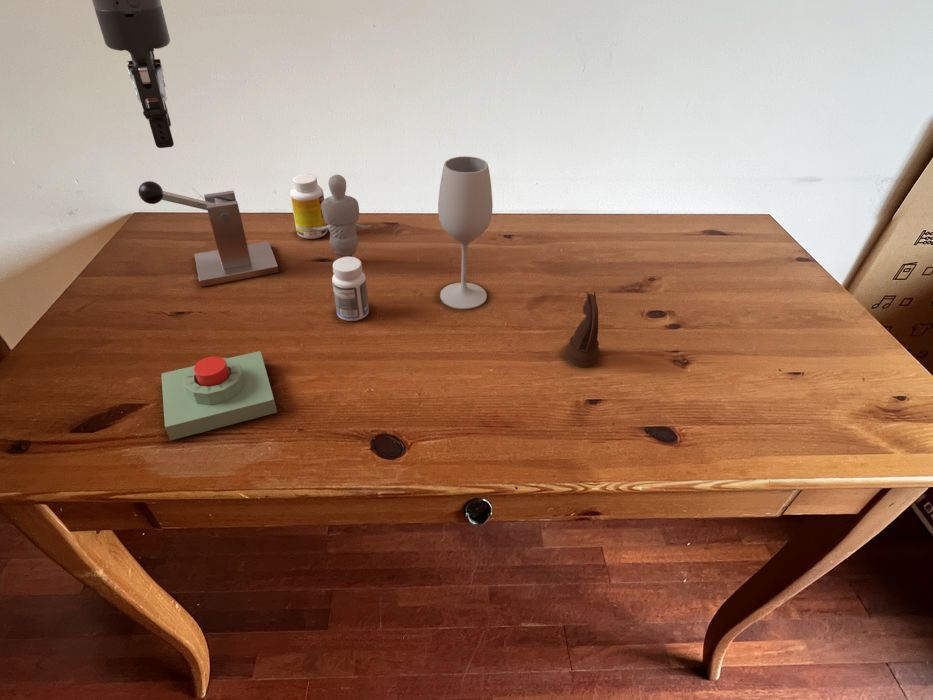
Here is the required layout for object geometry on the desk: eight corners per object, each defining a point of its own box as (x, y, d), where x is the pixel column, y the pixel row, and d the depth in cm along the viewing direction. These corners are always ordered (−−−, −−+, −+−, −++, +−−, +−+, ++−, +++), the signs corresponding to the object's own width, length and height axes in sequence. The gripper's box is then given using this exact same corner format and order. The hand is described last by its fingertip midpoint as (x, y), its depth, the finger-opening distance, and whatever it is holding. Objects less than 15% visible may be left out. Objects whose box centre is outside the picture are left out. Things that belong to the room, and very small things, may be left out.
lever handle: (136, 204, 86) (140, 183, 85) (136, 195, 88) (140, 175, 87) (231, 225, 93) (236, 206, 92) (228, 216, 96) (233, 198, 94)
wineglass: (434, 307, 91) (432, 173, 78) (444, 280, 97) (443, 152, 84) (484, 312, 90) (490, 178, 77) (490, 285, 96) (497, 156, 83)
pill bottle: (356, 300, 92) (351, 251, 87) (375, 313, 90) (371, 263, 84) (330, 312, 90) (323, 262, 84) (349, 326, 87) (343, 276, 82)
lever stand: (200, 287, 94) (180, 217, 87) (196, 260, 101) (176, 193, 93) (279, 272, 98) (265, 204, 91) (269, 247, 105) (256, 181, 97)
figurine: (374, 253, 103) (367, 169, 94) (375, 265, 100) (368, 179, 91) (318, 256, 102) (305, 171, 93) (317, 268, 99) (303, 181, 90)
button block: (170, 440, 69) (160, 415, 67) (166, 386, 76) (156, 362, 74) (277, 412, 73) (271, 388, 71) (263, 363, 80) (257, 339, 78)
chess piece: (593, 345, 85) (605, 285, 78) (603, 369, 81) (616, 307, 74) (561, 347, 84) (570, 286, 78) (569, 370, 80) (580, 308, 74)
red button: (198, 390, 70) (194, 378, 69) (196, 371, 73) (192, 360, 72) (231, 382, 72) (227, 371, 71) (227, 364, 74) (224, 353, 73)
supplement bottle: (329, 238, 107) (321, 183, 101) (297, 241, 106) (287, 186, 100) (327, 224, 112) (320, 171, 105) (296, 227, 111) (287, 173, 104)
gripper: (96, -5, 78) (134, 124, 88) (90, 14, 68) (134, 157, 78) (159, -6, 80) (190, 119, 90) (162, 11, 70) (197, 150, 80)
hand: (164, 136), depth 84 cm, fingers open, 8 cm apart
